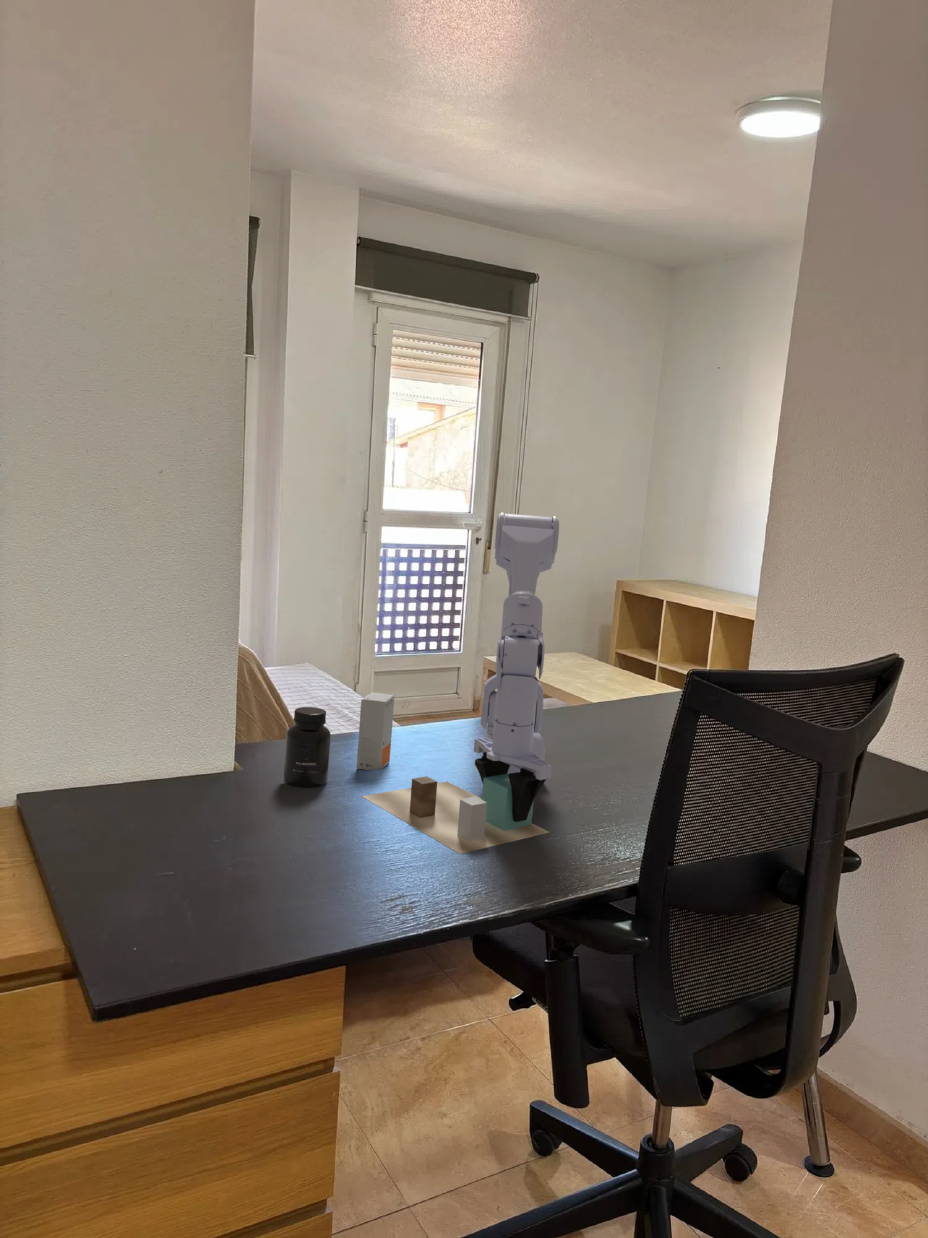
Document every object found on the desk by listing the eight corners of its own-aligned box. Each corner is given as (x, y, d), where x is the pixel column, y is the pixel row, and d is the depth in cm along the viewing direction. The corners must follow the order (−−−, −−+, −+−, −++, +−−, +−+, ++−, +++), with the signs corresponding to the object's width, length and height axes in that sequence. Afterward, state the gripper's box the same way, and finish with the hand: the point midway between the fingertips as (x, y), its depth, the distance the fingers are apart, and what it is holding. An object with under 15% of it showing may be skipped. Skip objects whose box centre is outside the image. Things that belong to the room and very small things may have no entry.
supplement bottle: (297, 795, 137) (301, 718, 135) (275, 782, 142) (278, 707, 140) (336, 788, 141) (340, 713, 139) (312, 775, 146) (316, 703, 144)
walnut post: (424, 809, 132) (426, 776, 132) (434, 815, 130) (437, 781, 130) (409, 812, 131) (412, 778, 130) (420, 818, 129) (422, 784, 128)
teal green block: (507, 812, 134) (511, 772, 133) (531, 824, 130) (535, 783, 129) (480, 818, 130) (483, 777, 130) (503, 830, 126) (507, 788, 126)
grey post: (472, 831, 125) (475, 796, 125) (484, 837, 123) (487, 802, 123) (457, 834, 124) (460, 799, 123) (469, 841, 122) (472, 805, 121)
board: (446, 786, 146) (447, 781, 146) (549, 837, 127) (549, 832, 127) (361, 801, 136) (361, 796, 136) (459, 859, 117) (459, 853, 117)
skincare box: (380, 772, 150) (385, 702, 149) (355, 769, 151) (360, 699, 149) (390, 762, 156) (395, 694, 155) (367, 759, 157) (371, 691, 155)
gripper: (460, 711, 131) (453, 801, 133) (527, 737, 120) (519, 835, 122) (497, 707, 135) (490, 794, 137) (566, 732, 124) (557, 826, 126)
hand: (506, 813), depth 130 cm, fingers closed on teal green block, 5 cm apart
